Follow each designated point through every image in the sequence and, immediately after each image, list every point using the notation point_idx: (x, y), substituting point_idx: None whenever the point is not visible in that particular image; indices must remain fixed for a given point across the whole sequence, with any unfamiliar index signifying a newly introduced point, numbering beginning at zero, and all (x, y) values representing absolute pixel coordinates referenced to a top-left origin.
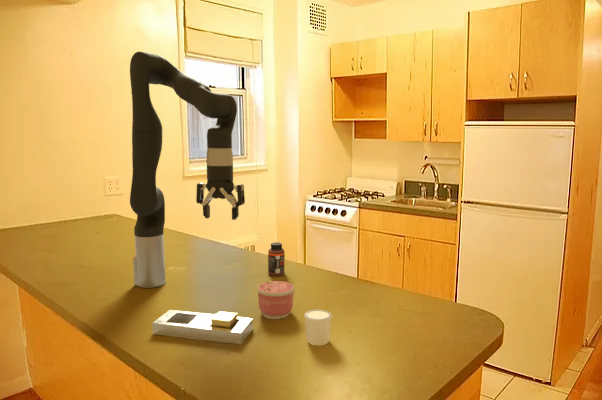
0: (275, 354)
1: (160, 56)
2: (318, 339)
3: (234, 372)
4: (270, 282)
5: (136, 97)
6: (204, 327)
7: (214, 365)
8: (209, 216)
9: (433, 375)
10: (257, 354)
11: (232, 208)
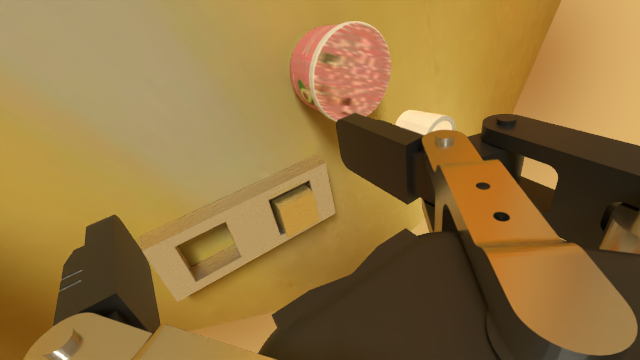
0: (373, 192)
1: None
2: None
3: (351, 250)
4: (330, 50)
5: None
6: (276, 241)
7: (325, 258)
8: (121, 225)
9: None
10: (355, 207)
11: (406, 198)
